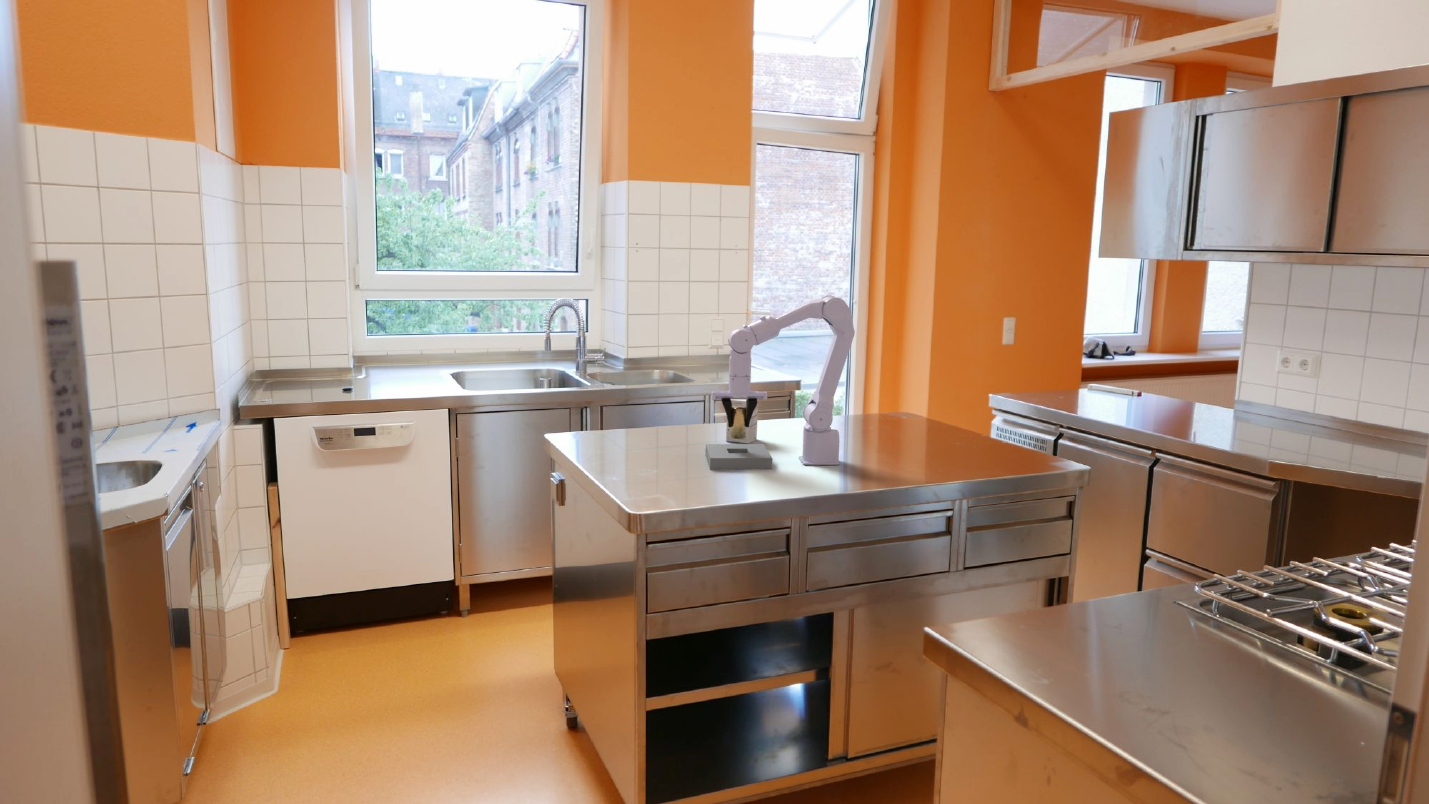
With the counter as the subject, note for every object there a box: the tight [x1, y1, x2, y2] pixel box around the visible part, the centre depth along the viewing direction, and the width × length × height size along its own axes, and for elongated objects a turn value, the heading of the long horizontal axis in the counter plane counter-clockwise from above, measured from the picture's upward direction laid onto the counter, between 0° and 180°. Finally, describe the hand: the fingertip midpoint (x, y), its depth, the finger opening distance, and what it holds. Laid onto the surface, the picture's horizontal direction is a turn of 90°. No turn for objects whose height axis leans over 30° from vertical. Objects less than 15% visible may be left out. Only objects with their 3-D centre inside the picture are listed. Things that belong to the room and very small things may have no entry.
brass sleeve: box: [731, 406, 746, 439], centre depth 239 cm, size 4×4×8 cm
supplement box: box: [725, 399, 759, 444], centre depth 265 cm, size 7×7×13 cm
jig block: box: [704, 443, 773, 471], centre depth 240 cm, size 16×16×3 cm
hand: (738, 426), depth 239 cm, fingers closed on brass sleeve, 4 cm apart
